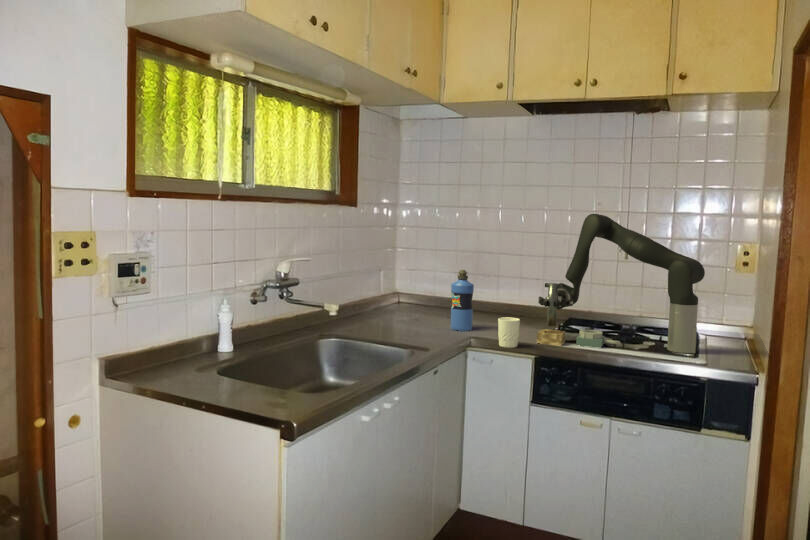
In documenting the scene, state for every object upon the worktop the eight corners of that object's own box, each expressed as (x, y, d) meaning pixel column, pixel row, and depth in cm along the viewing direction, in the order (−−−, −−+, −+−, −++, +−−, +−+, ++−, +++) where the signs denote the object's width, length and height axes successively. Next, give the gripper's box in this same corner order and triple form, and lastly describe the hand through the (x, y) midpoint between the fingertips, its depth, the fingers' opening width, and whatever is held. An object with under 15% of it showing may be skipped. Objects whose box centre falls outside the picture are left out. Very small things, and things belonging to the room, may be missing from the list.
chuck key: (560, 325, 231) (562, 283, 229) (558, 326, 227) (560, 284, 226) (544, 323, 233) (546, 282, 231) (542, 325, 230) (544, 283, 228)
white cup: (514, 343, 228) (515, 317, 227) (522, 348, 220) (523, 320, 219) (494, 343, 226) (495, 317, 225) (501, 348, 218) (502, 321, 218)
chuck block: (620, 345, 227) (621, 332, 227) (618, 349, 219) (619, 336, 219) (579, 341, 233) (580, 328, 233) (576, 345, 225) (576, 332, 225)
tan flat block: (565, 341, 233) (565, 331, 232) (561, 345, 225) (561, 335, 224) (541, 339, 236) (542, 329, 236) (536, 343, 228) (537, 332, 228)
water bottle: (463, 326, 261) (464, 268, 259) (477, 330, 253) (478, 270, 251) (445, 328, 256) (447, 269, 254) (459, 332, 248) (461, 271, 246)
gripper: (541, 288, 245) (532, 293, 229) (577, 290, 239) (570, 296, 223) (541, 306, 246) (531, 312, 230) (576, 309, 240) (569, 316, 224)
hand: (550, 304), depth 227 cm, fingers closed on chuck key, 3 cm apart
